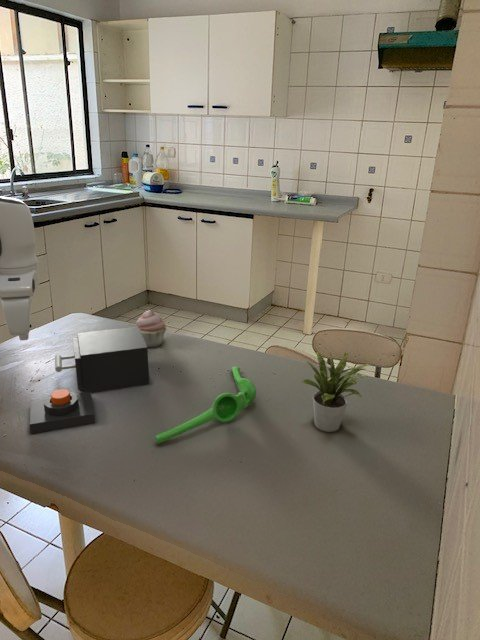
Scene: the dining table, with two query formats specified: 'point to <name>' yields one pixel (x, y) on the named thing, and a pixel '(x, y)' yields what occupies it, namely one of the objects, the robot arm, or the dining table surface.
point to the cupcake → (151, 328)
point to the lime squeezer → (218, 408)
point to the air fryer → (113, 359)
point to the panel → (61, 413)
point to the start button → (60, 397)
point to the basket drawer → (77, 365)
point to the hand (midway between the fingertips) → (24, 337)
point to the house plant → (332, 392)
